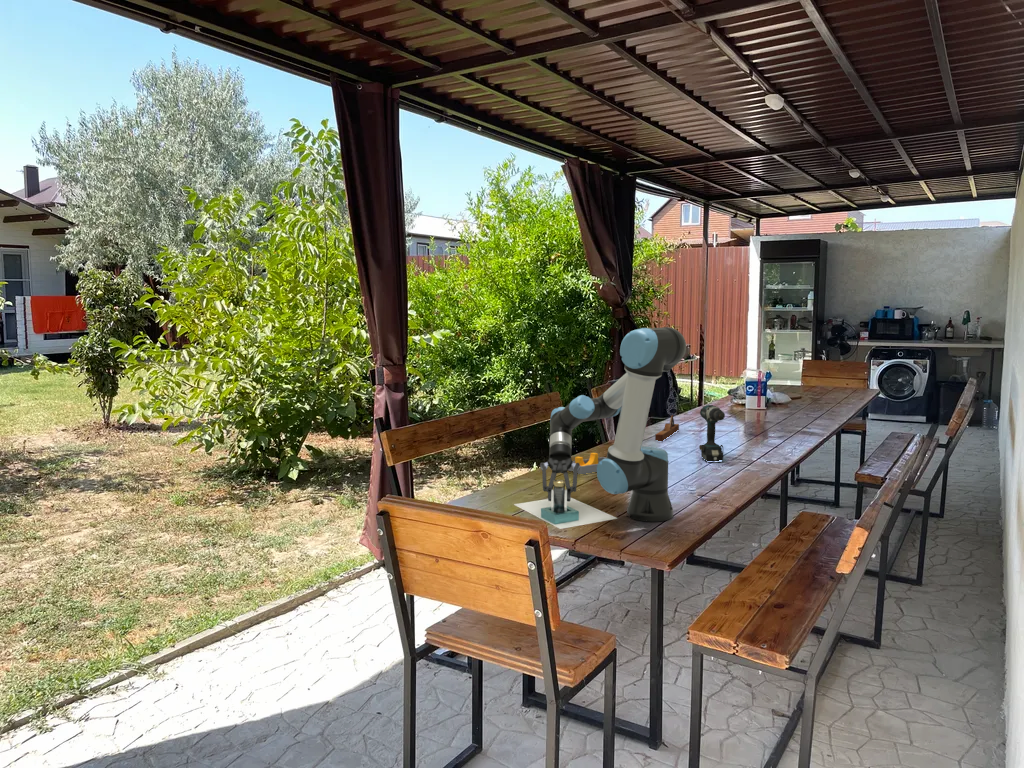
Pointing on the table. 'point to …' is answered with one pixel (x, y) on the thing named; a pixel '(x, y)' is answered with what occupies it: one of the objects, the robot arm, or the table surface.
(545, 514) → the teal square frame
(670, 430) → the hand plane
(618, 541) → the table surface
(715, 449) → the power drill
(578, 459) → the pipe clamp
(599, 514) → the board
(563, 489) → the gold capped grey cylinder
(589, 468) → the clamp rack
